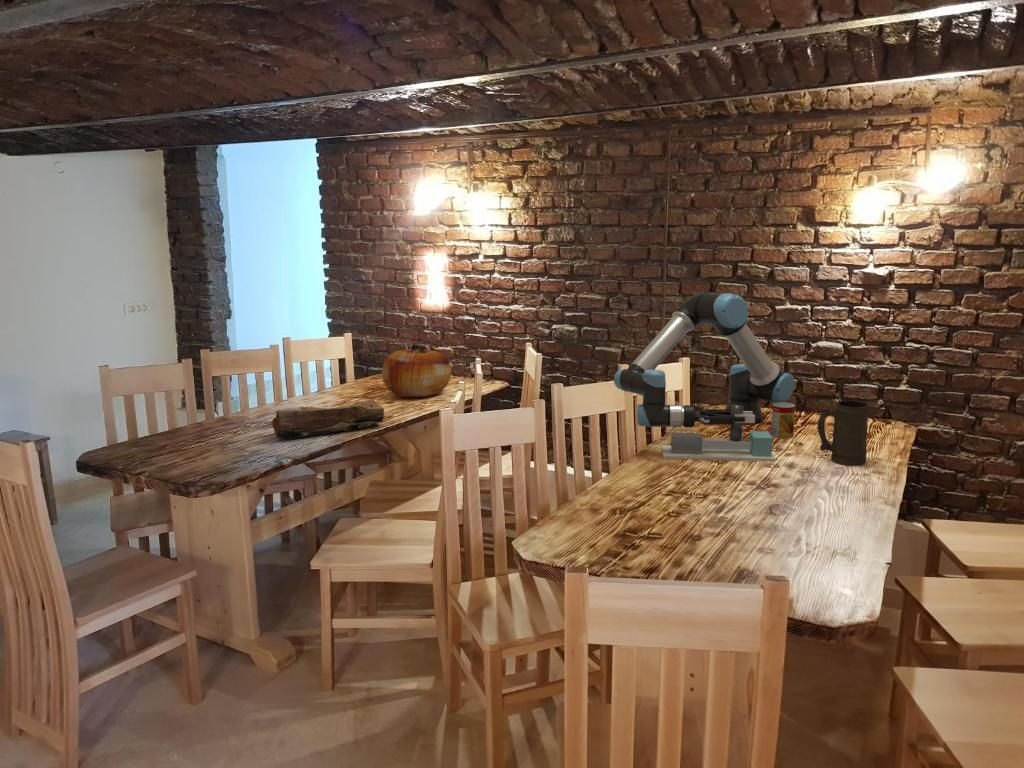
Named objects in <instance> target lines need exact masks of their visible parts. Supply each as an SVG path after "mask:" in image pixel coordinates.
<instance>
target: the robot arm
mask: <svg viewBox="0 0 1024 768" xmlns="http://www.w3.org/2000/svg"><path fill="white" fill-rule="evenodd" d="M748 310H749V307H748V304H747V302H746V301H745V299H744V298H743V297H741V296H740V295H738V294H737V295H736V294H733V293H729V292H728V293H727V292H726V293H723V292H722V293H721V292H709V291H702V292H698V293H696V294H694V295H692V296H690V297H689V298H687V299H686V300H684V301H683V302H682V303H681V304H680V305H679V306H678V307H677V308H676V309H675V310H674V311H673V312H672V314H671V319H670V320H669V321H668V322H667V323H666V325H664V327H663V328H662V329H661V330H660V331H659V333H658V334H657V335H656V336H655V337H654V338H653V339H652V340H650V342H649V344H648V345H647V346H646V347H645V348H644V350H642V352H641V353H640V354H638V356H637V357H636V358H635V360H634V361H632V363H631V364H630V365H629V366H628V368H621V369H618V370H617V371H616V372H615V374H614V377H613V383H614V385H615V387H616V388H617V389H619V390H621V391H623V392H628V393H632V394H636V395H640V396H642V403H641V404H637V407H636V424H637V425H638V426H640V427H649V428H654V427H656V428H657V427H661V428H663V427H667V428H668V427H670V428H672V429H676V428H681V427H684V428H694V427H695V425H696V424H695V423H696V422H698V423H699V424H703V425H704V426H707V425H708V426H709V425H722V426H723V425H724V426H725V425H735V423H743V426H744V425H748V426H749V425H758V424H759V425H760V424H761V423H763V421H764V415H763V413H762V409H761V404H760V400H764V401H768V402H771V403H777V402H786V403H787V401H788V400H789V399H790V398H791V397H792V395H793V393H794V389H795V384H796V383H795V378H794V376H793V375H792V374H790V373H789V372H783V370H782V369H781V368H780V366H779V364H777V363H776V362H775V361H771V359H770V358H769V356H768V355H767V353H766V352H765V350H764V348H763V347H762V346H761V344H760V343H759V341H758V340H757V338H756V336H755V334H754V333H753V332H752V330H751V329H750V327H749V326H748V324H747V322H748V318H749V317H748V316H749V312H748ZM700 325H708V326H712V328H714V330H715V332H716V333H717V334H718V335H719V336H720V337H725V338H726V340H727V342H729V344H730V345H731V347H732V348H733V350H734V352H735V353H736V355H737V356H738V358H739V359H740V360H741V362H742V363H738V364H733V365H732V366H731V367H730V369H729V371H730V372H729V375H728V376H729V377H728V378H729V381H728V384H729V386H728V402H727V405H726V407H725V409H721V408H719V409H718V408H717V409H716V408H700V409H699V410H696V408H695V406H694V405H691V404H690V405H689V404H688V405H687V404H685V405H683V406H682V405H681V404H666V385H667V383H666V381H667V380H666V373H665V371H663V370H661V369H656V368H657V367H659V365H660V364H661V363H662V362H663V361H664V359H666V357H667V356H668V355H669V354H670V353H671V352H672V351H673V349H674V348H675V347H676V345H678V344H679V342H680V341H681V340H682V339H683V338H684V337H685V335H686V334H687V333H688V332H693V331H694V330H695V328H696V327H697V326H700ZM734 404H739V405H743V415H735V416H734V415H731V405H734Z"/></svg>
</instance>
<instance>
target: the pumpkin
mask: <svg viewBox="0 0 1024 768" xmlns="http://www.w3.org/2000/svg"><path fill="white" fill-rule="evenodd" d="M452 371H453V370H452V365H451V362H450V360H449V358H448V357H447V356H446V355H445V354H443V353H442V352H440V351H437V350H432V349H430V350H429V349H426V348H425V345H423V344H422V343H413V344H412V346H411V349H403V350H402V349H400V350H395V351H393V352H391V353H390V354H389V355H387V356H386V358H385V359H384V361H383V365H382V371H381V375H382V382H383V383H384V385H385V387H386V389H387V390H389V392H391V393H393V394H394V395H396V396H397V397H405V398H408V397H412V398H413V397H414V398H417V397H418V398H422V397H429V396H432V395H436V394H439V393H441V392H442V391H443V390H444V389H445V388H446V387H447V385H448V384H449V381H450V380H451V375H452Z"/></svg>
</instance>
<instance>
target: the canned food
mask: <svg viewBox="0 0 1024 768" xmlns="http://www.w3.org/2000/svg"><path fill="white" fill-rule="evenodd" d="M771 407H772V409H771V427H770V435H771V437H772V438H775V439H781V440H782V439H783V440H790V439H793V438H794V430H795V415H796V414H795V413H796V404H794V403H791V402H787V401H786V402H776V403H774V402H772V406H771Z"/></svg>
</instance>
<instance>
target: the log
mask: <svg viewBox="0 0 1024 768" xmlns="http://www.w3.org/2000/svg"><path fill="white" fill-rule="evenodd" d="M384 417H385V408H384V407H383V406H381V405H380V404H378V402H377V401H375V400H374V399H373V398H371V399H367V400H361V401H356V402H355V403H353V404H348V405H345V406H344V405H343V406H337V407H336V406H335V407H330V408H326V407H325V408H323V407H315V406H299V409H296V410H295V409H294V410H284V411H277V412H276V415H275V417H273V418H272V420H271V425H272V428H273V432H274V434H275V436H276V437H277V438H285V439H290V440H291V439H292V440H294V439H297V438H300V437H313V436H315V437H316V436H319V435H326V434H333V433H334V434H335V433H339V432H343V433H344V432H350V431H351V432H352V431H359V430H364V429H366V428H368V427H370V426H374V425H375V424H378V423H383V421H384Z"/></svg>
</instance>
